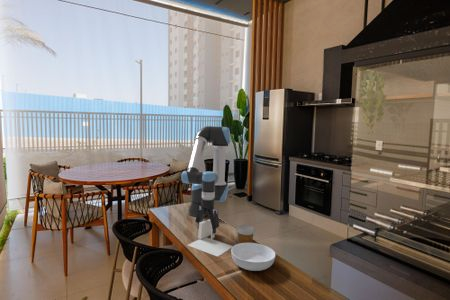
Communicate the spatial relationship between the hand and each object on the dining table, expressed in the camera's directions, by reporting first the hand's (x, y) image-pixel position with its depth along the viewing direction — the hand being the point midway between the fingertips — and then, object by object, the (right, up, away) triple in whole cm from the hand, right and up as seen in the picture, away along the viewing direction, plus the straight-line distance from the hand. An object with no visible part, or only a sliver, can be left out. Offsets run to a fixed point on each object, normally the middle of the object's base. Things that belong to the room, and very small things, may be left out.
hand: (206, 236), depth 158 cm
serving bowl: (+24, -4, -30) cm, 38 cm away
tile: (0, 0, 0) cm, 1 cm away
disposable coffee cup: (+21, -3, -14) cm, 26 cm away
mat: (+3, -1, -13) cm, 13 cm away
